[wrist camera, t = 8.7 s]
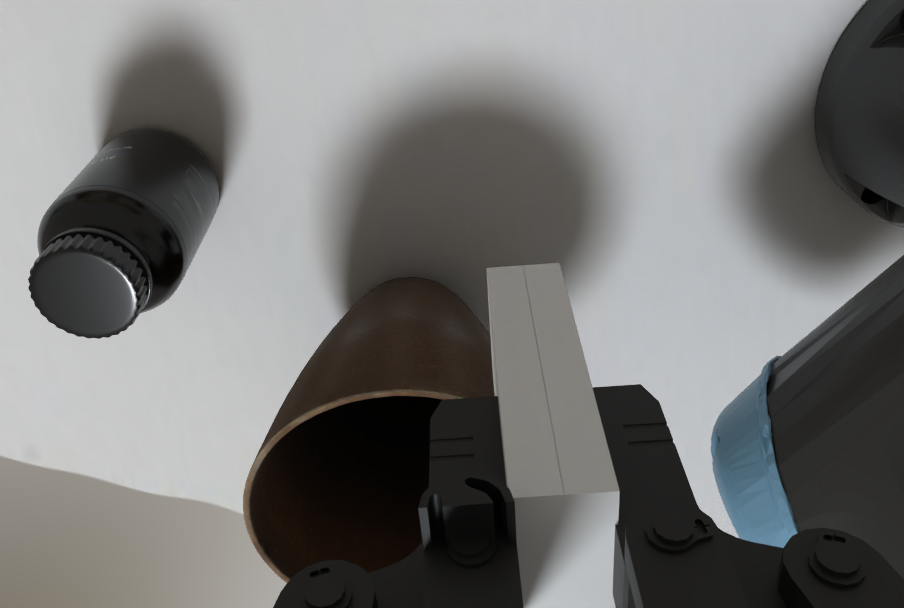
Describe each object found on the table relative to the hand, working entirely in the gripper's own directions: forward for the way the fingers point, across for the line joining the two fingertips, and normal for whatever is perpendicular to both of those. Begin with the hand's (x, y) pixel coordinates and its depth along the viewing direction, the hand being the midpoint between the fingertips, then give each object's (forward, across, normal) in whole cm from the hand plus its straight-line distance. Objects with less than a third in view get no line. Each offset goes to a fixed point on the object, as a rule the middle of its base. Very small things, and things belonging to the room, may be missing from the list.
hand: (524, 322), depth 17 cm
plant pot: (+29, +5, +18) cm, 35 cm away
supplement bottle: (+29, +18, +7) cm, 35 cm away
